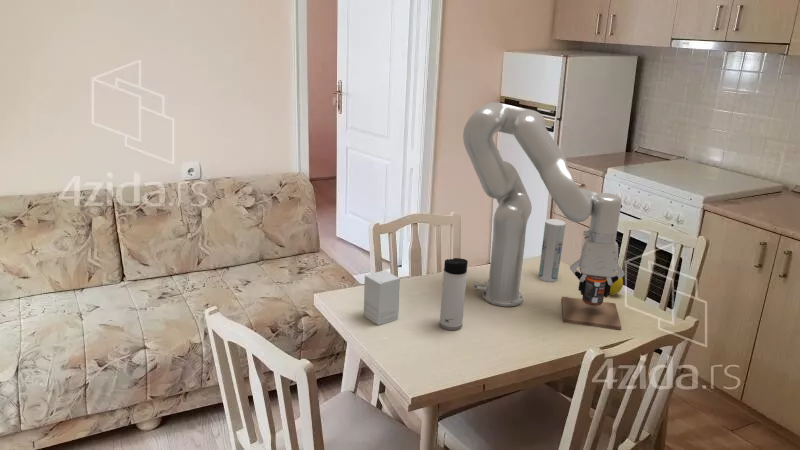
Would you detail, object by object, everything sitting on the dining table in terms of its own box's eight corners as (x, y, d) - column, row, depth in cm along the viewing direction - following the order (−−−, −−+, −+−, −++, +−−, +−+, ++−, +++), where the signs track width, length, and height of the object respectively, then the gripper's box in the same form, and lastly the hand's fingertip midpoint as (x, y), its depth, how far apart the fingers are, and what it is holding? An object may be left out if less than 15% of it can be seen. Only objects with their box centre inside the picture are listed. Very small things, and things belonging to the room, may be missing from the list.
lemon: (621, 299, 202) (625, 275, 199) (603, 297, 203) (607, 273, 200) (619, 292, 207) (623, 269, 204) (602, 290, 208) (605, 267, 205)
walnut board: (563, 322, 184) (563, 319, 184) (561, 299, 199) (561, 296, 199) (620, 330, 181) (621, 326, 181) (614, 306, 196) (615, 303, 196)
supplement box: (398, 319, 181) (401, 278, 177) (377, 326, 176) (379, 283, 172) (383, 309, 186) (385, 269, 182) (362, 315, 182) (363, 274, 178)
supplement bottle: (599, 308, 185) (605, 272, 181) (579, 303, 188) (584, 267, 184) (605, 301, 190) (610, 265, 186) (585, 296, 193) (590, 261, 189)
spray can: (540, 273, 219) (547, 217, 212) (559, 277, 216) (567, 220, 210) (536, 279, 213) (543, 222, 207) (555, 283, 211) (563, 226, 204)
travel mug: (447, 333, 174) (453, 265, 168) (435, 322, 180) (440, 256, 174) (466, 329, 177) (473, 262, 171) (454, 318, 183) (459, 253, 176)
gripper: (571, 237, 181) (563, 296, 186) (635, 244, 177) (625, 303, 183) (570, 229, 188) (563, 286, 193) (631, 235, 184) (622, 293, 190)
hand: (593, 293), depth 188 cm, fingers closed on supplement bottle, 6 cm apart
